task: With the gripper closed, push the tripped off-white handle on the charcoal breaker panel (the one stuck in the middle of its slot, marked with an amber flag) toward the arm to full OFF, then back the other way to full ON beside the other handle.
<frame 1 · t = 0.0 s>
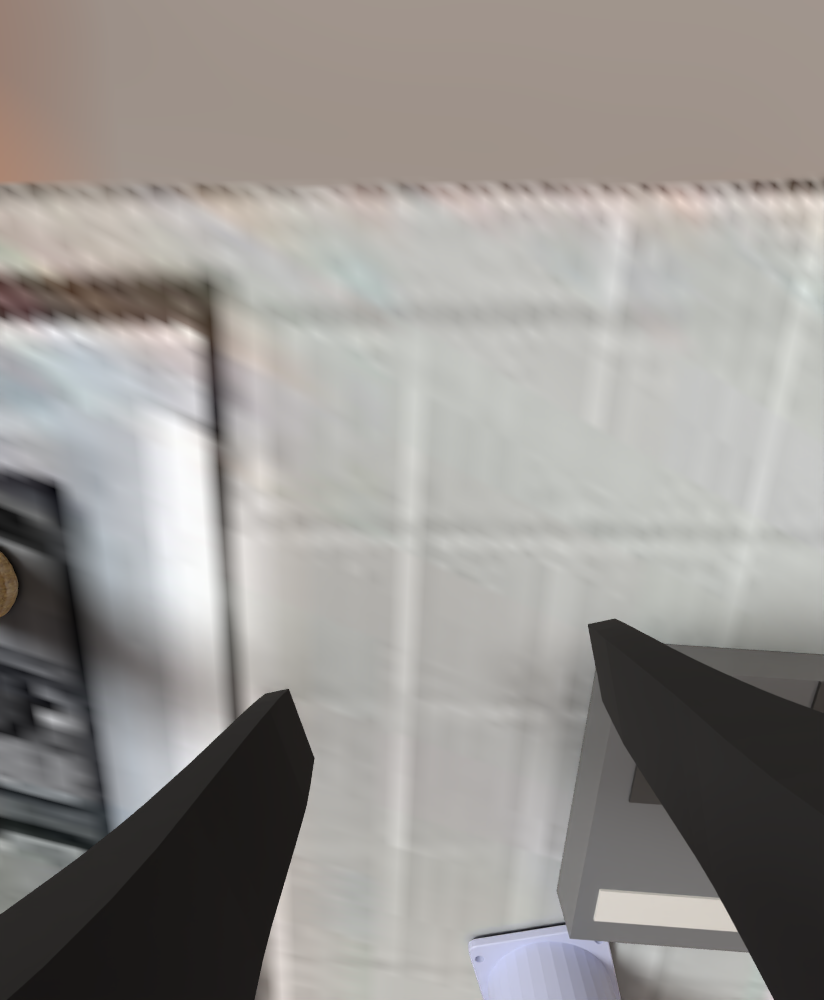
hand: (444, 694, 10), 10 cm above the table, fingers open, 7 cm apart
breaker panel: (691, 783, 22), on the table
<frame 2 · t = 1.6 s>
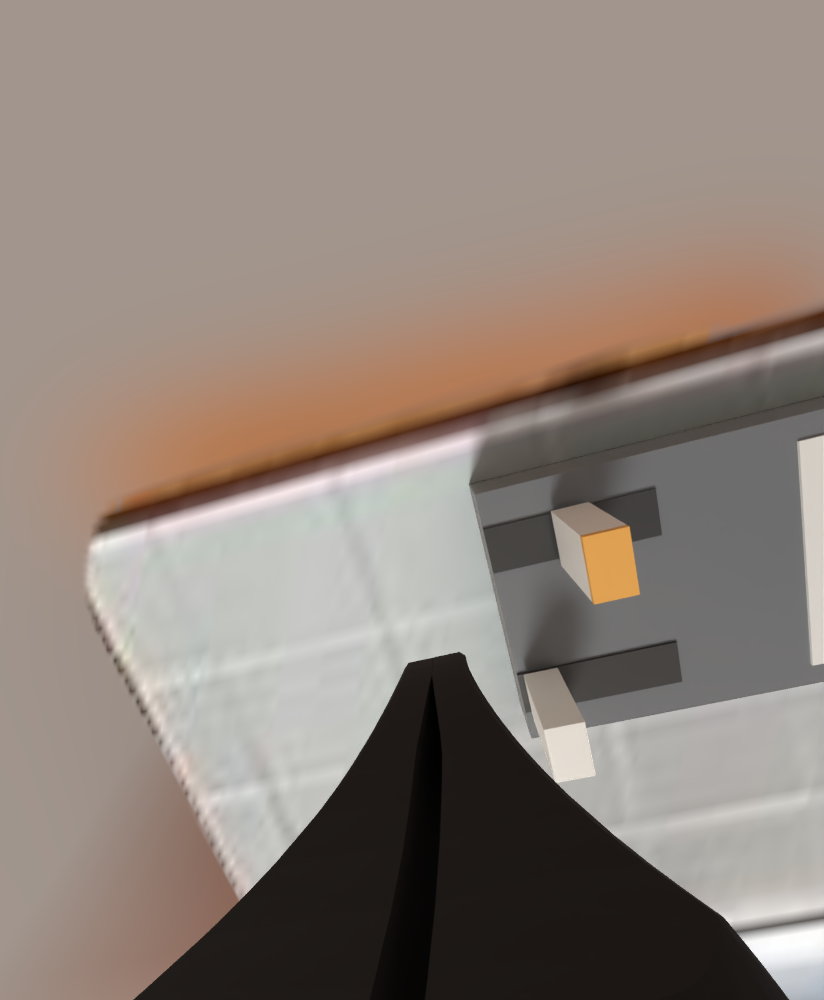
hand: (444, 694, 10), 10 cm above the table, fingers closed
tripped breaker handle: (591, 548, 15), point 4 cm above the table, slide at 0.0 cm
breaker panel: (663, 564, 20), on the table
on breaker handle: (556, 721, 17), point 4 cm above the table, slide at 2.5 cm
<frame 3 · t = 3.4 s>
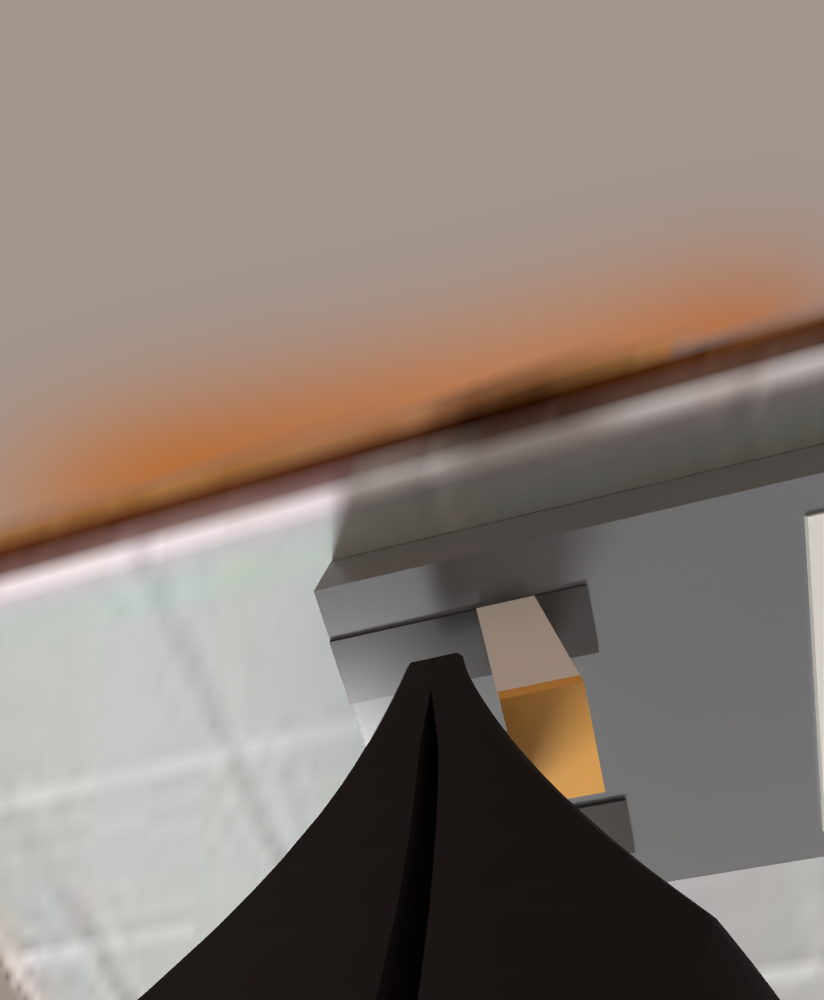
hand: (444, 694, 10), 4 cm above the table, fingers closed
tripped breaker handle: (530, 685, 9), point 4 cm above the table, slide at -1.3 cm, touching gripper
breaker panel: (612, 671, 14), on the table
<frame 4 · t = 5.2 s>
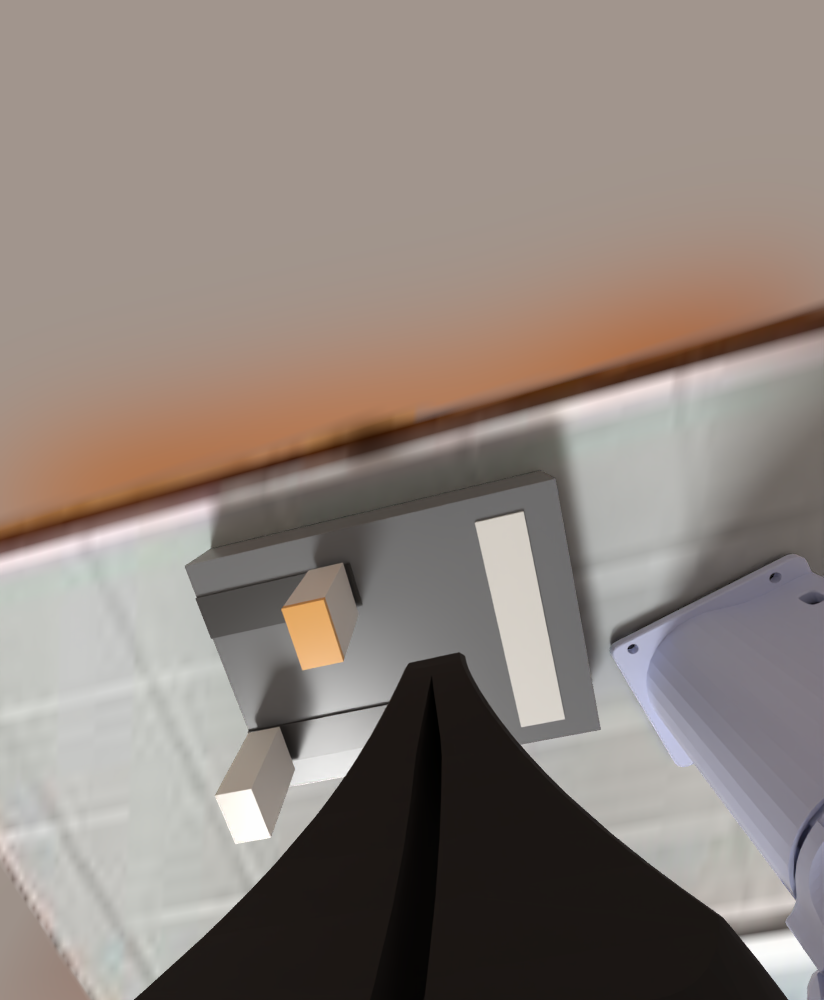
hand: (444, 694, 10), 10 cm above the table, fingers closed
tripped breaker handle: (324, 611, 16), point 4 cm above the table, slide at -2.6 cm
breaker panel: (401, 625, 21), on the table
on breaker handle: (258, 781, 18), point 4 cm above the table, slide at 2.5 cm
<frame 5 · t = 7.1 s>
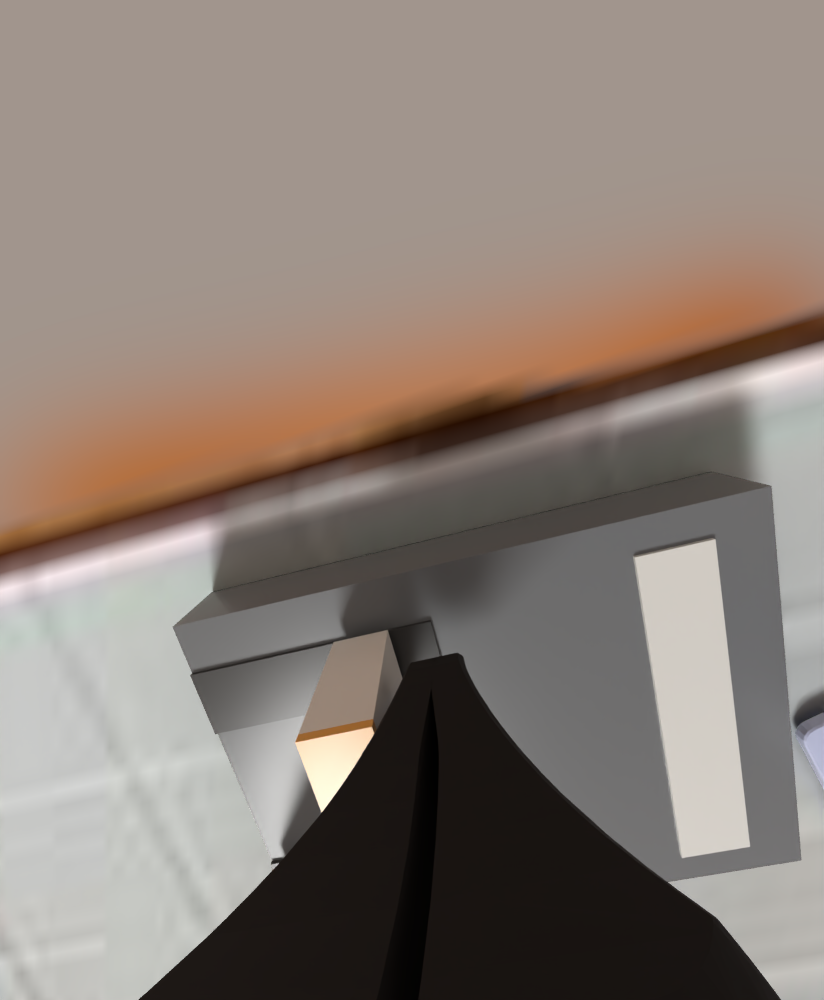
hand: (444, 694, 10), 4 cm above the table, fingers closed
tripped breaker handle: (364, 721, 10), point 4 cm above the table, slide at -1.6 cm, touching gripper
breaker panel: (490, 697, 14), on the table
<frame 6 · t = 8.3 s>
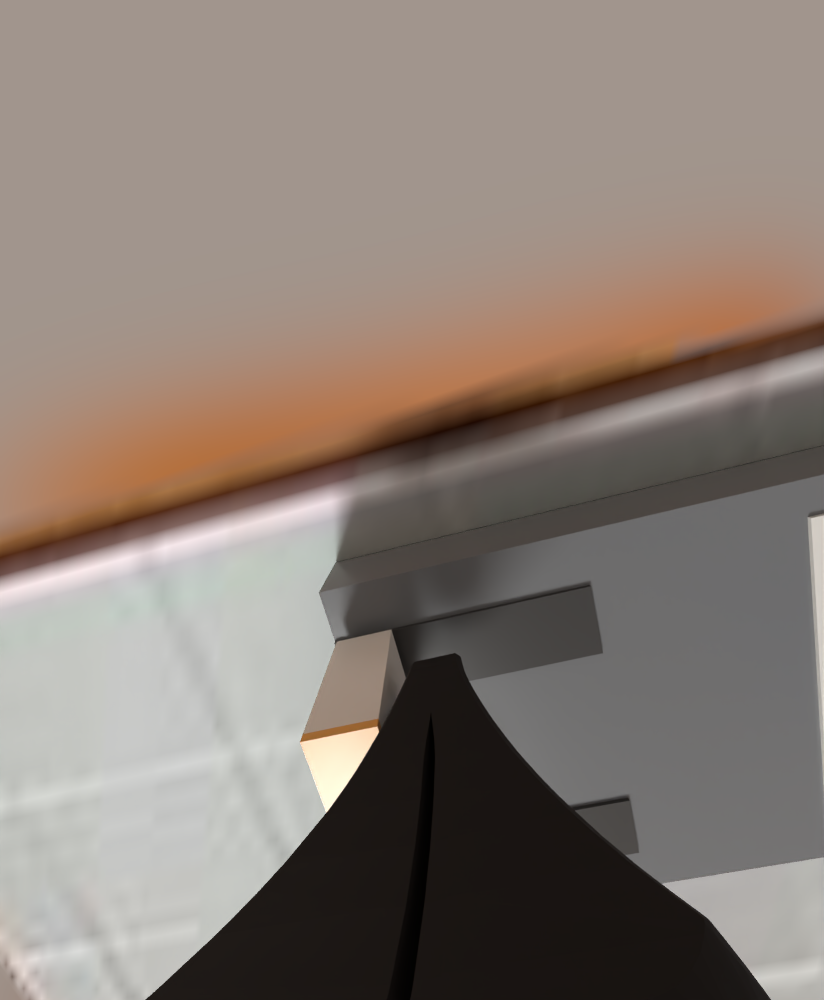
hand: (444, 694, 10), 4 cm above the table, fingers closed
tripped breaker handle: (368, 720, 10), point 4 cm above the table, slide at 2.6 cm, touching gripper
breaker panel: (616, 672, 14), on the table
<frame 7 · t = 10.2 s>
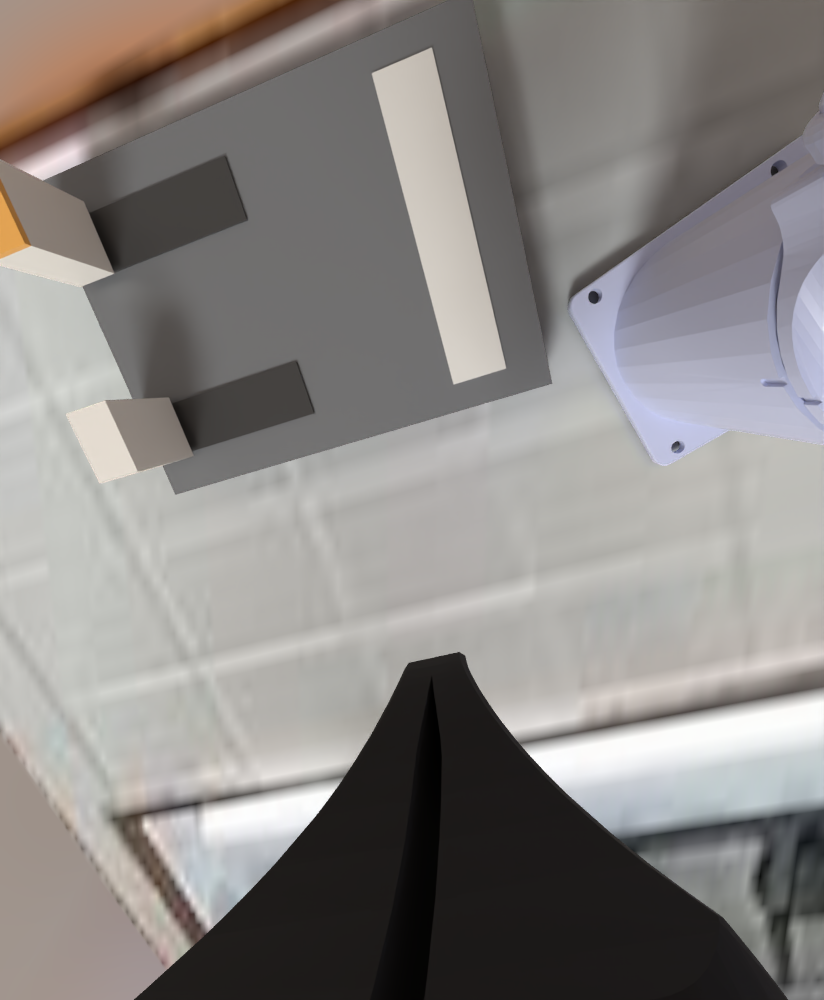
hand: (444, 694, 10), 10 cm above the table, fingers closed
tripped breaker handle: (38, 228, 14), point 4 cm above the table, slide at 2.6 cm
breaker panel: (316, 297, 17), on the table
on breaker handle: (136, 437, 15), point 4 cm above the table, slide at 2.5 cm
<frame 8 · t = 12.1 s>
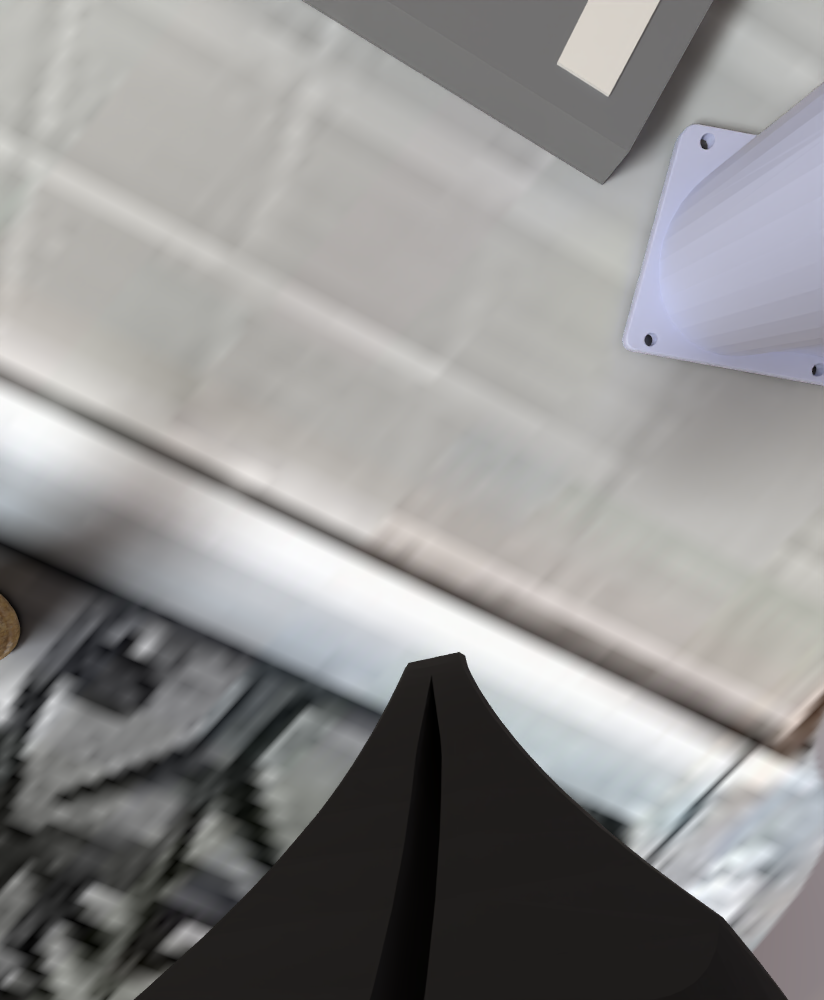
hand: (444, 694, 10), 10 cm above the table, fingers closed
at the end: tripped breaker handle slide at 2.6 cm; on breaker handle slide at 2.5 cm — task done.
